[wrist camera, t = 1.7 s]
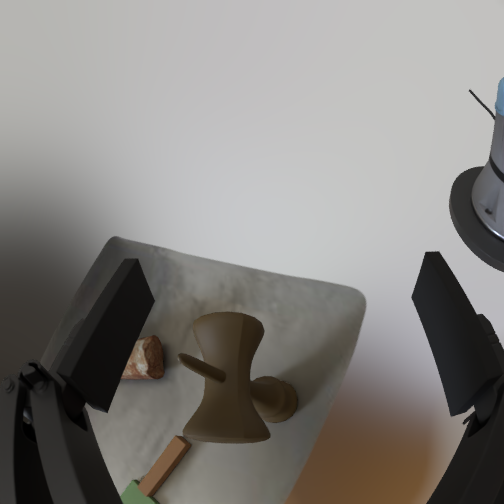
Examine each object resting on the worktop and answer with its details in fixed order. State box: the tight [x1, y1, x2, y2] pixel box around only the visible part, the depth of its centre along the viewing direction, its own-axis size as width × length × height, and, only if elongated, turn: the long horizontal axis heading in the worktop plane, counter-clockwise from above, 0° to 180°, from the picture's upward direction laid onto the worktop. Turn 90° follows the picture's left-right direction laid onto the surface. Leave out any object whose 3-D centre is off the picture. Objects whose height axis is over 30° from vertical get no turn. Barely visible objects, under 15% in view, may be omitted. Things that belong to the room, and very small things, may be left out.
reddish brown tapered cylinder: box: [121, 335, 165, 380], centre depth 37 cm, size 6×19×6 cm, turn 94°
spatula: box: [120, 436, 191, 504], centre depth 25 cm, size 18×5×1 cm, turn 146°
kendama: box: [177, 312, 298, 443], centre depth 22 cm, size 6×10×20 cm, turn 0°
